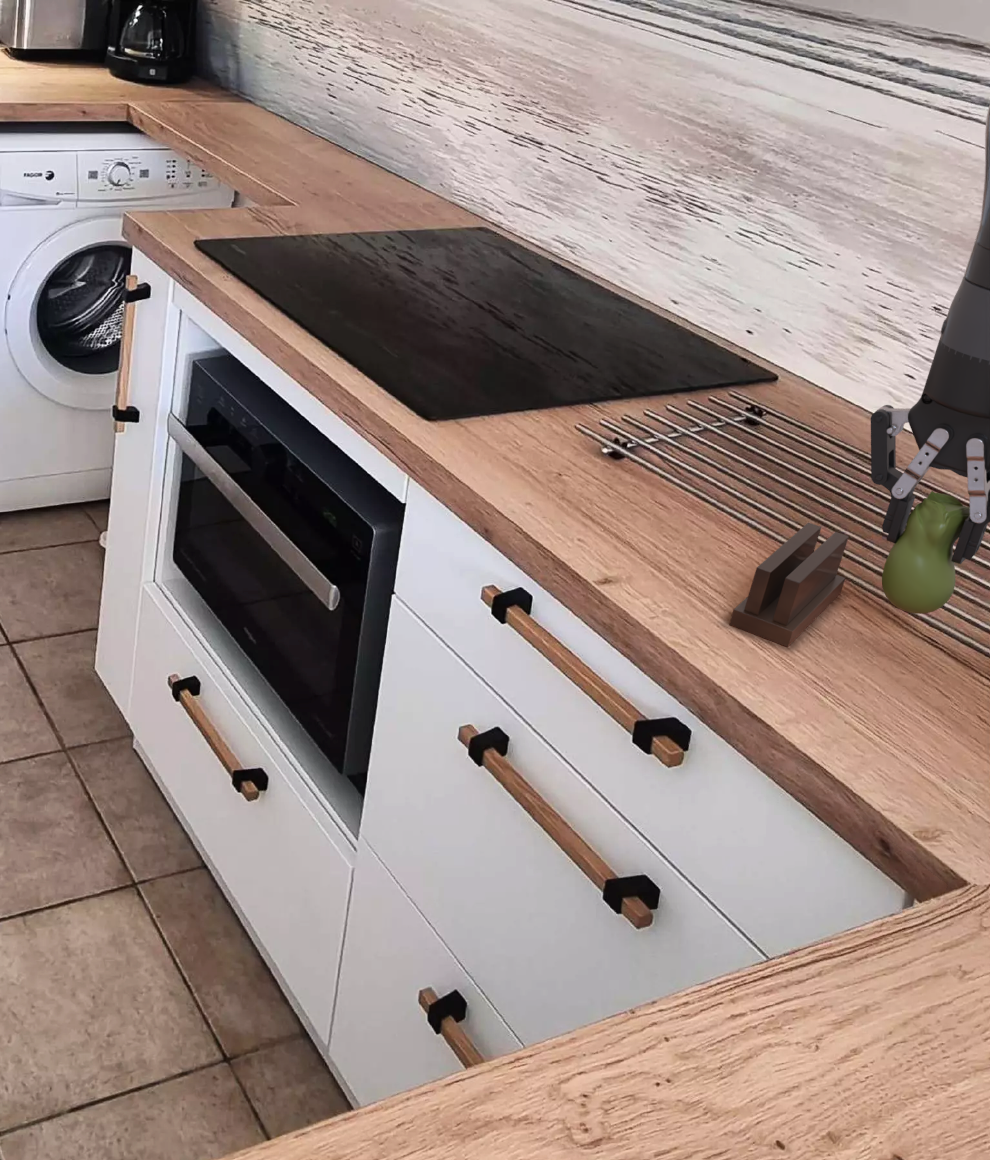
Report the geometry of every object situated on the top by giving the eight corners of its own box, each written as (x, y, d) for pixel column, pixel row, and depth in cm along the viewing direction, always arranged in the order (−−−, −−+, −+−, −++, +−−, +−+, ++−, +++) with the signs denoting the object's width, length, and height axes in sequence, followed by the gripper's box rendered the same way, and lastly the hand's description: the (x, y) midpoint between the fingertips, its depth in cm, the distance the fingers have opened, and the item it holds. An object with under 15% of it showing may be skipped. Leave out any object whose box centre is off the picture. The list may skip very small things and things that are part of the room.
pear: (899, 589, 127) (935, 479, 123) (957, 616, 123) (996, 503, 119) (860, 602, 124) (895, 490, 120) (919, 630, 120) (957, 515, 116)
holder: (840, 592, 134) (859, 536, 132) (787, 647, 124) (806, 588, 121) (785, 572, 137) (802, 517, 134) (728, 624, 126) (746, 566, 124)
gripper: (1107, 360, 113) (1030, 566, 121) (911, 312, 120) (850, 508, 128) (1087, 381, 107) (1008, 595, 115) (883, 329, 115) (821, 533, 123)
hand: (925, 548), depth 122 cm, fingers closed on pear, 4 cm apart
